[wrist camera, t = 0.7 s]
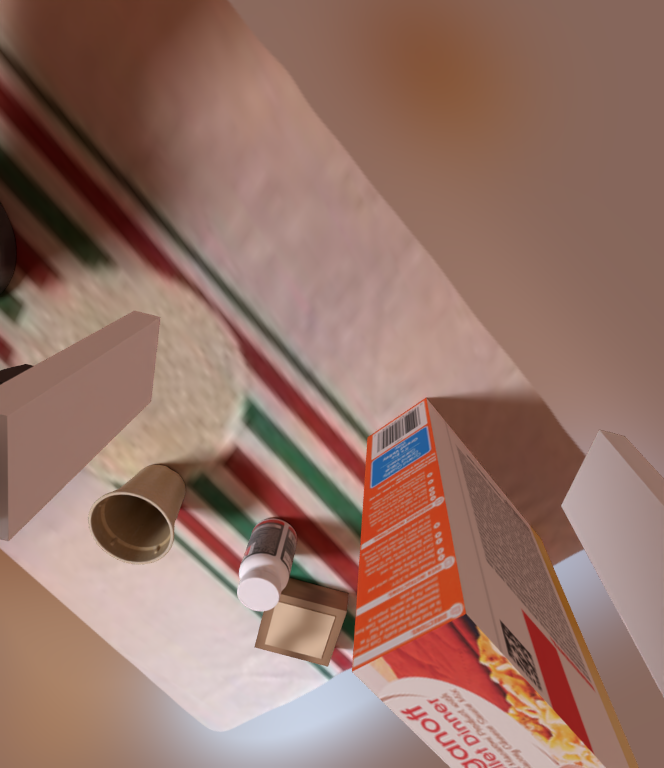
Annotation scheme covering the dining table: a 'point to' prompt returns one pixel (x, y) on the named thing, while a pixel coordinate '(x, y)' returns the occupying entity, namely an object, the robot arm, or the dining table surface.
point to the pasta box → (470, 614)
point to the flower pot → (139, 516)
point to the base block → (304, 622)
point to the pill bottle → (266, 564)
